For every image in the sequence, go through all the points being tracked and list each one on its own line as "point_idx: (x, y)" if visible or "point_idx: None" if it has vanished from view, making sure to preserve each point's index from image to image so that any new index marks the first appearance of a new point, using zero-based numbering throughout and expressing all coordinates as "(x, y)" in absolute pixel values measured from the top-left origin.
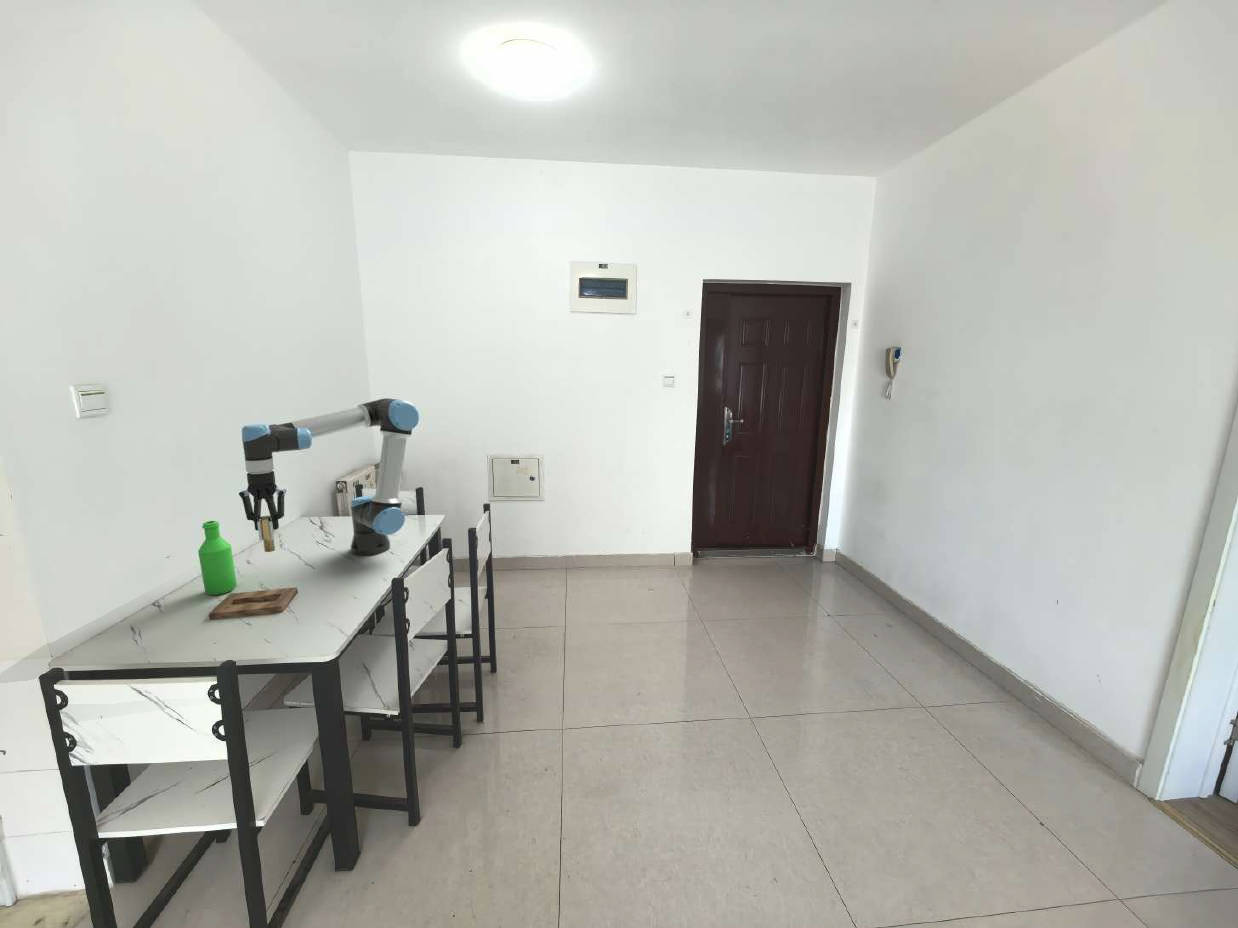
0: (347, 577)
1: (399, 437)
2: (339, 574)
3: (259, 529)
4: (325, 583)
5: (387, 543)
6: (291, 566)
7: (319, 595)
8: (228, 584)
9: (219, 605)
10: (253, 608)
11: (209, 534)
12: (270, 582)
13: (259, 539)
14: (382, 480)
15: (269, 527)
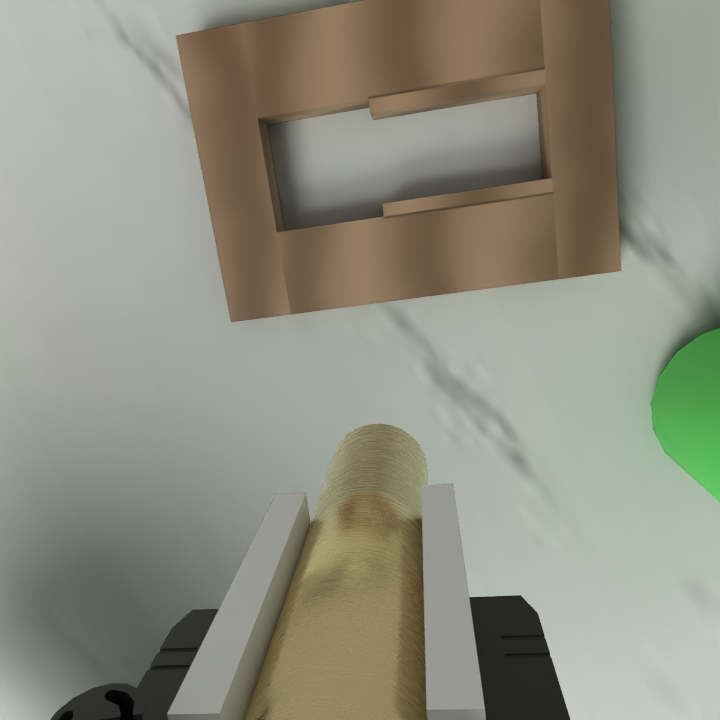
0: (62, 492)
1: None
2: (129, 538)
3: (444, 585)
4: (146, 425)
5: None
6: None
7: (95, 263)
8: (686, 376)
9: (598, 84)
10: (345, 16)
11: None
12: (479, 479)
13: (452, 491)
14: None
15: (279, 625)
